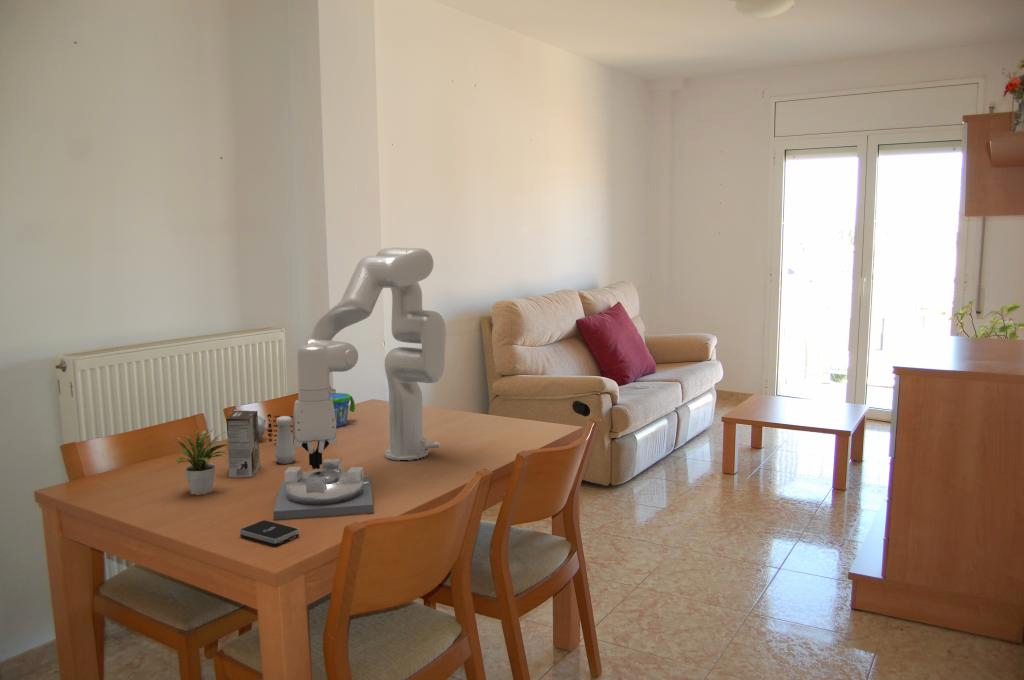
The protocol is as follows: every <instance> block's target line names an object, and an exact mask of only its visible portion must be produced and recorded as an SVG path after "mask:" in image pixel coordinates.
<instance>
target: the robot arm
mask: <svg viewBox="0 0 1024 680" xmlns="http://www.w3.org/2000/svg"><path fill="white" fill-rule="evenodd" d="M433 268H434V259H433V256H432V254H431V253H430V251H428V250H427V249H426V248H421V247H386V248H382V249H380V250H379V251H378V252H377V253H376V255H368V256H364V257H363V258H361V259H360V260H359V261H358V263H357V264H356V266H355V269H354V271H353V273H352V276H351V278H350V280H349V282H348V285H347V286H346V287H345V288H346V289H345V291H344V293H343V296H342V297H341V299H340V301H339V302H338V303H337V304H335V305H334V306H333V307H332V308H330V309H329V310H328V311H327V312H325V314H323V315H322V316H321V317H320V318H319V319H317V321H316V322H315V324H314V325H313V326H312V329H311V330H310V333H309V335H308V336H307V338H306V341H305V344H304V345H301V346H299V347H298V348H297V354H296V355H297V391H298V393H297V395H298V396H297V397H298V399H296V400H295V401H294V406H293V415H292V416H293V418H292V426H293V427H292V430H293V431H292V437H293V445H294V446H295V448H297V447H298V448H303V449H304V450H306V452H308V465H309V466H311V468H312V470H321V468H320V467H321V465H322V462H323V453H324V450H325V449H327V447H328V446H330V445H333V444H337V442H338V438H337V427H336V418H335V410H334V404H333V400H332V399H331V398H330V396H331V395H335V394H336V393H337V392H336V388H335V389H333V388H331V387H330V385H331V383H330V373H332V372H334V373H335V372H341V373H342V372H343V373H344V372H348V371H351V370H352V369H353V368H354V367H356V364H357V363H358V359H359V351H358V350H357V348H356V347H355V346H354V345H353V344H351V343H349V342H346V341H339V340H338V341H337V340H333V339H334V337H335V336H336V335H337V334H339V332H341V331H342V330H343V329H345V328H347V327H349V326H352V325H354V324H357V323H359V322H361V321H364V320H366V319H368V318H369V317H370V316H371V315H372V313H373V311H374V308H375V305H376V303H377V301H378V299H379V297H380V294H381V292H382V290H383V289H390V290H391V300H392V302H391V335H392V337H393V339H395V340H396V341H398V342H402V343H408V344H421V348H418V347H408V346H398V347H394V348H392V349H391V350H389V351H388V352H387V354H386V355H385V358H384V371H385V375H386V380H387V384H388V385H387V387H388V412H389V413H388V415H389V418H388V419H389V448H388V449H386V450H385V451H384V457H386V459H388V460H393V461H400V460H408V461H414V460H413V459H417V460H420V459H419V458H421V459H423V458H422V457H424V456H426V455H427V456H429V449H433V450H434V449H439V448H440V442H439V441H435V440H425V438H424V436H423V435H424V434H423V433H424V429H423V427H424V425H423V421H424V420H423V417H424V416H423V392H422V390H421V387H420V384H419V383H422V384H423V383H425V384H434V383H437V382H438V381H440V380H441V378H442V377H443V375H444V372H445V371H444V370H445V365H446V364H445V362H446V341H447V340H446V338H447V327H446V323H445V319H444V318H443V316H442V315H441V314H440V313H438V312H437V311H435V310H427V309H426V310H424V309H423V291H422V288H421V285H420V283H419V282H421V281H423V280H426V279H427V278H429V276H430V274H431V273H432V272H433V270H434V269H433ZM313 442H317V446H316V449H314V446H313V445H314V444H313ZM427 456H426V457H427ZM424 458H425V457H424Z"/></svg>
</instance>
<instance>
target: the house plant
mask: <svg viewBox="0 0 1024 680" xmlns="http://www.w3.org/2000/svg"><path fill="white" fill-rule="evenodd" d="M213 430H214V428H212V429H211V430H210V431H209V432H208V433H207V429H206V428H205V429H204V430H203V431H202V432H201V434H199V427H197V428H196V430H195V431H196V432H195V442H194V441H193V440H192V439H191V437H190V436H188V435H187V434H185V435H184V437H185V438H187V442H188V443H189V446H190V447H191V449H190V447H189V446H188V444H186V443H185V442H184V441H183V439H181V438H178V437H177V439H178V440H180V441H178V440H176V439H175V440H174V442H177V443H178V444H179V445H180V446H181V447H182V448H183V449H181V450H179V453H181V454H184V455H186V456H187V457H188V458H186V457H183V456H179V457H177V458H176V464H177V465H178V464H180V463H182V462H183V463H184V462H185V460H186V461H187V462H188V463H190V464H191V465H188V466H186V467H185V469H184V472H185V476H186V480H187V484H188V488H189V493H190V494H191V493H192V494H191V495H193V494H203V495H206V494H205V493H208V494H210V493H212V492H213V490H214V489H213V488H214V481H215V473H216V465H215V464H213V463H209V462H210V460H212V459H214V458H217V457H224V458H225V455H227V453H226V451H216V450H219V449H221V448H224V447H226V446H227V447H228V445H232V444H228V443H227V444H218V445H215V446H213V445H214V444H216V443H217V440H223V439H224V437H222V438H221V437H220V436H222V435H223V434H225V433H226V432H222V433H220V434H218V435H216V436H215V437H214V438H213V439H212V441H211V442H210V443H208V444H207V446H206V445H205V444H206V441H207V439H208V437H209V435H210V434H211V433H212V432H213ZM180 436H181V437H182V436H183V435H180ZM219 437H220V438H219ZM205 446H206V447H205ZM224 454H225V455H224ZM211 491H212V492H211ZM209 492H210V493H209Z"/></svg>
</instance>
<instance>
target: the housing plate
mask: <svg viewBox="0 0 1024 680" xmlns="http://www.w3.org/2000/svg"><path fill="white" fill-rule="evenodd" d="M372 491H373V490H372V481H371V476H370V475H369V476H364V478H363V492H362V493H361V494H360V495H359V496H357V497H355V498H353V499H350V500H347V501H343V502H338V503H332V504H320V505H312V504H301V503H297V502H293V501H291V500H289V499H288V498H287V496H286V482H285V481H281V483H280V486H279V490H278V494H277V498H276V500H275V505H274V508H273V521H280V520H291V519H292V520H293V519H306V518H307V519H308V518H321V517H323V518H324V517H335V516H349V515H348V514H354V515H362V514H361V513H368V514H374V503H373V492H372Z"/></svg>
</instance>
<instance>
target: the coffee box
mask: <svg viewBox="0 0 1024 680" xmlns="http://www.w3.org/2000/svg"><path fill="white" fill-rule="evenodd" d="M258 416H259V415H258V410H241V411H234V412H233V413H232V412H231V414H230V415H228V416H227V418H226V436H227V438H226V439H227V444H232V445H227V456H228V457H227V459H228V460H227V461H228V476H229V477H228V478H252V477H254V476H255V475H256V474H257V472H258V471H259V469H260V468H261V457H260V440H259V432H258Z"/></svg>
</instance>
